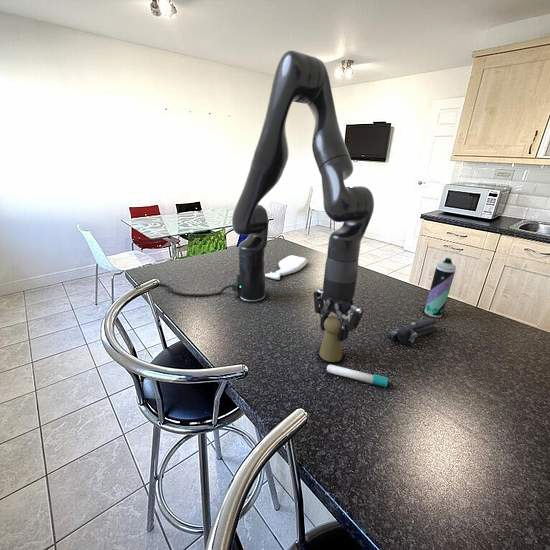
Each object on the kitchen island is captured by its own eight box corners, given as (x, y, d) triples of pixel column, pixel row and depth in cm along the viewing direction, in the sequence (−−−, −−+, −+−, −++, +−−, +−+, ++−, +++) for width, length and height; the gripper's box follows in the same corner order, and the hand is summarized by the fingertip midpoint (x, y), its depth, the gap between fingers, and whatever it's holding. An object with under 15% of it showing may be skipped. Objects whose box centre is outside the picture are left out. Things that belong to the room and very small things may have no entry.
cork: (342, 363, 75) (347, 327, 70) (318, 359, 76) (322, 324, 71) (342, 348, 80) (346, 314, 76) (319, 345, 81) (323, 311, 77)
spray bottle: (308, 264, 138) (282, 283, 119) (288, 259, 143) (260, 277, 124) (309, 258, 136) (282, 277, 118) (289, 254, 142) (260, 271, 123)
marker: (325, 373, 72) (326, 366, 71) (327, 368, 74) (328, 360, 73) (386, 389, 68) (388, 382, 67) (386, 382, 70) (388, 375, 69)
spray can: (421, 309, 102) (435, 255, 94) (436, 308, 102) (451, 255, 94) (430, 317, 97) (445, 261, 89) (445, 317, 97) (462, 261, 89)
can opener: (403, 351, 80) (407, 335, 78) (384, 338, 86) (387, 321, 84) (444, 335, 88) (449, 319, 86) (424, 323, 94) (428, 308, 91)
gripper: (307, 269, 71) (303, 327, 78) (356, 290, 61) (346, 354, 68) (327, 262, 76) (321, 317, 83) (376, 281, 66) (365, 342, 73)
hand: (333, 334), depth 75 cm, fingers closed on cork, 5 cm apart
